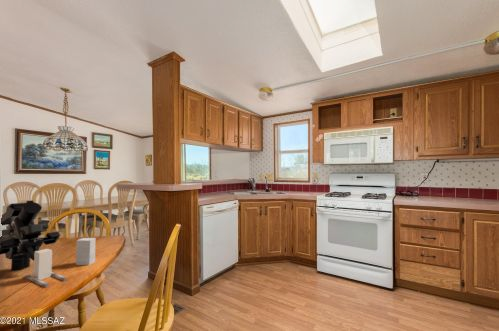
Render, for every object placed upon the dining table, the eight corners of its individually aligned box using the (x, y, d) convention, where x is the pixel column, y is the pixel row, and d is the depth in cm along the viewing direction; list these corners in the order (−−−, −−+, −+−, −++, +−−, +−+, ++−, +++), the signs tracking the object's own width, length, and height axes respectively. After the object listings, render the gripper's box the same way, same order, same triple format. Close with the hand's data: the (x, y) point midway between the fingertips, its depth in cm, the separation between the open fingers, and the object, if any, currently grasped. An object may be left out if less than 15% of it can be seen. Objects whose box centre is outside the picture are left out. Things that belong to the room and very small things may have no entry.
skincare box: (95, 264, 106) (96, 237, 107) (89, 268, 102) (90, 240, 103) (81, 264, 106) (82, 237, 107) (75, 268, 102) (76, 240, 102)
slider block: (33, 278, 89) (34, 251, 89) (46, 274, 92) (47, 248, 93) (38, 280, 87) (39, 253, 87) (51, 276, 91) (52, 250, 91)
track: (23, 280, 89) (23, 274, 89) (45, 274, 96) (46, 268, 96) (44, 291, 81) (44, 285, 82) (67, 283, 88) (67, 277, 88)
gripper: (0, 219, 87) (10, 255, 82) (59, 212, 104) (71, 242, 99) (-9, 237, 91) (0, 272, 85) (49, 227, 107) (60, 257, 102)
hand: (35, 260), depth 93 cm, fingers closed
